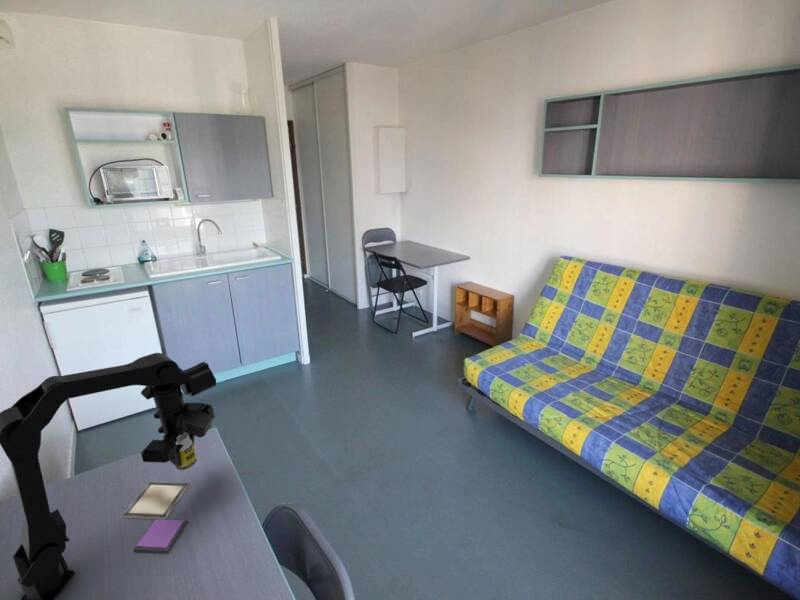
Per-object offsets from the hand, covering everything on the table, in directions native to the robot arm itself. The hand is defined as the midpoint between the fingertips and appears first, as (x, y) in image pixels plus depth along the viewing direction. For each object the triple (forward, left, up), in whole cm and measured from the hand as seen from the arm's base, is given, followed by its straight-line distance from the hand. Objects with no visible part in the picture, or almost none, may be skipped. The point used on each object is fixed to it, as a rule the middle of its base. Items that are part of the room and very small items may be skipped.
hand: (185, 458), depth 104 cm
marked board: (-2, +9, -12) cm, 15 cm away
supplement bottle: (0, 0, -2) cm, 2 cm away
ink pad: (-12, +1, -12) cm, 17 cm away
